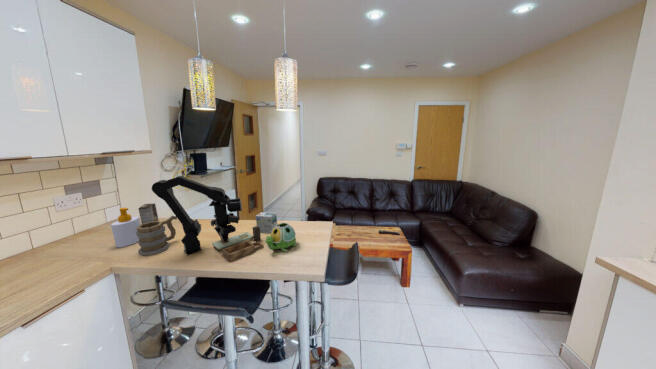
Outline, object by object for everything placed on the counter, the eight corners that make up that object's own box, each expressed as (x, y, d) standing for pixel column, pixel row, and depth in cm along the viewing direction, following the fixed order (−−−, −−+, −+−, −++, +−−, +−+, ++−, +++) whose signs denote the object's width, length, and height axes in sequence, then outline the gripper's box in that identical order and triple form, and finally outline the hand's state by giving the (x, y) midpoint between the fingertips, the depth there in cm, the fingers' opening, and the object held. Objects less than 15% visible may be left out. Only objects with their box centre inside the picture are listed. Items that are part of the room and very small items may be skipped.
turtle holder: (258, 252, 120) (256, 230, 118) (285, 238, 135) (283, 218, 132) (275, 259, 113) (273, 235, 111) (301, 244, 128) (300, 223, 125)
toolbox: (229, 261, 112) (228, 255, 111) (222, 256, 118) (221, 249, 117) (264, 248, 124) (264, 241, 124) (257, 243, 130) (256, 237, 129)
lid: (217, 249, 121) (216, 239, 120) (212, 244, 127) (210, 234, 126) (253, 237, 134) (252, 228, 133) (246, 233, 140) (245, 224, 139)
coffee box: (148, 227, 157) (143, 204, 154) (160, 226, 159) (155, 202, 156) (143, 233, 149) (137, 208, 145) (155, 231, 151) (150, 206, 147)
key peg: (256, 242, 131) (254, 228, 130) (253, 240, 133) (252, 227, 132) (260, 240, 133) (259, 227, 131) (258, 239, 135) (257, 225, 133)
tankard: (146, 257, 118) (140, 229, 115) (135, 251, 125) (129, 224, 122) (187, 241, 135) (183, 216, 131) (176, 237, 141) (171, 212, 138)
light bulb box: (278, 229, 148) (276, 212, 146) (272, 233, 142) (271, 216, 139) (262, 228, 151) (261, 211, 149) (256, 232, 145) (255, 215, 142)
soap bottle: (122, 248, 129) (113, 212, 124) (112, 246, 131) (103, 211, 127) (147, 238, 141) (140, 205, 136) (137, 236, 144) (130, 204, 139)
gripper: (243, 213, 123) (247, 241, 126) (229, 205, 136) (232, 231, 139) (221, 218, 115) (225, 248, 118) (208, 210, 128) (212, 237, 132)
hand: (224, 240), depth 127 cm, fingers closed on lid, 3 cm apart
